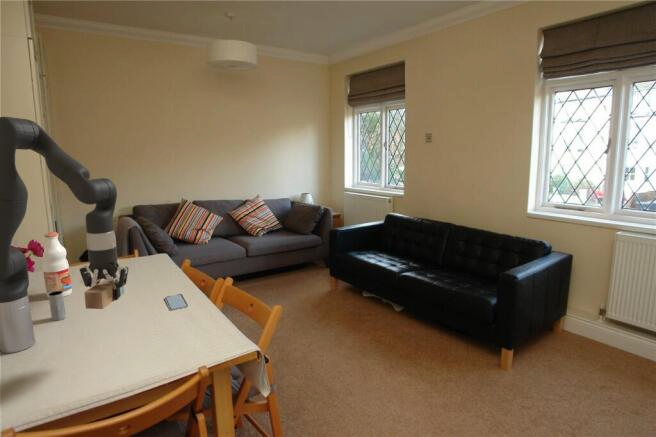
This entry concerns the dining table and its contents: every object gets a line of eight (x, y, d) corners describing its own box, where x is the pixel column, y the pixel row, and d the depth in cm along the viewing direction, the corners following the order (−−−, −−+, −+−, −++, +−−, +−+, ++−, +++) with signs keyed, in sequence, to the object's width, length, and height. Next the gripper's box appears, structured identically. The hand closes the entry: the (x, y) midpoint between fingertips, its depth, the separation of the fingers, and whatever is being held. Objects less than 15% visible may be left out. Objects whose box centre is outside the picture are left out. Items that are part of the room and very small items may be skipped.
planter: (64, 314, 156) (61, 290, 154) (67, 318, 153) (63, 293, 151) (50, 318, 153) (47, 293, 151) (53, 322, 150) (49, 296, 148)
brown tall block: (84, 292, 114) (107, 277, 126) (85, 308, 115) (108, 292, 127) (101, 292, 114) (123, 278, 126) (103, 309, 115) (124, 293, 127)
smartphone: (170, 310, 160) (164, 297, 172) (170, 312, 160) (164, 299, 172) (189, 306, 163) (181, 293, 176) (189, 308, 163) (182, 295, 176)
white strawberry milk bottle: (49, 292, 179) (40, 232, 173) (73, 289, 183) (65, 230, 177) (44, 300, 171) (35, 237, 165) (70, 296, 174) (62, 234, 169)
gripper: (132, 243, 122) (136, 295, 126) (85, 242, 122) (91, 294, 126) (119, 249, 115) (124, 305, 118) (69, 248, 115) (76, 303, 118)
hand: (107, 299), depth 122 cm, fingers closed on brown tall block, 5 cm apart
